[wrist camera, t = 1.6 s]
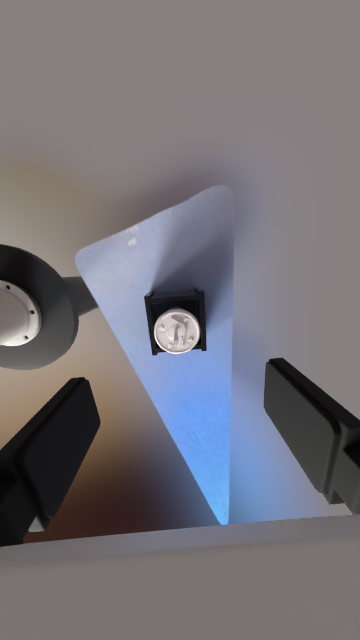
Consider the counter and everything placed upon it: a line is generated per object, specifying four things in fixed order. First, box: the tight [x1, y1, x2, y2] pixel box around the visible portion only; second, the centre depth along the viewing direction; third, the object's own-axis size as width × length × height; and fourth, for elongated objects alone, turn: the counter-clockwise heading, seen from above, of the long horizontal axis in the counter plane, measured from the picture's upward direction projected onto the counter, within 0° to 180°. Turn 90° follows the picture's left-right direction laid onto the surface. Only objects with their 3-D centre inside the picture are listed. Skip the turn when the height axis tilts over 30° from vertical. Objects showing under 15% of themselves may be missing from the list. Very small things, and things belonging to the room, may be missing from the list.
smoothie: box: [154, 306, 200, 354], centre depth 25 cm, size 6×6×14 cm
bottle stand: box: [144, 288, 207, 355], centre depth 29 cm, size 9×10×6 cm
